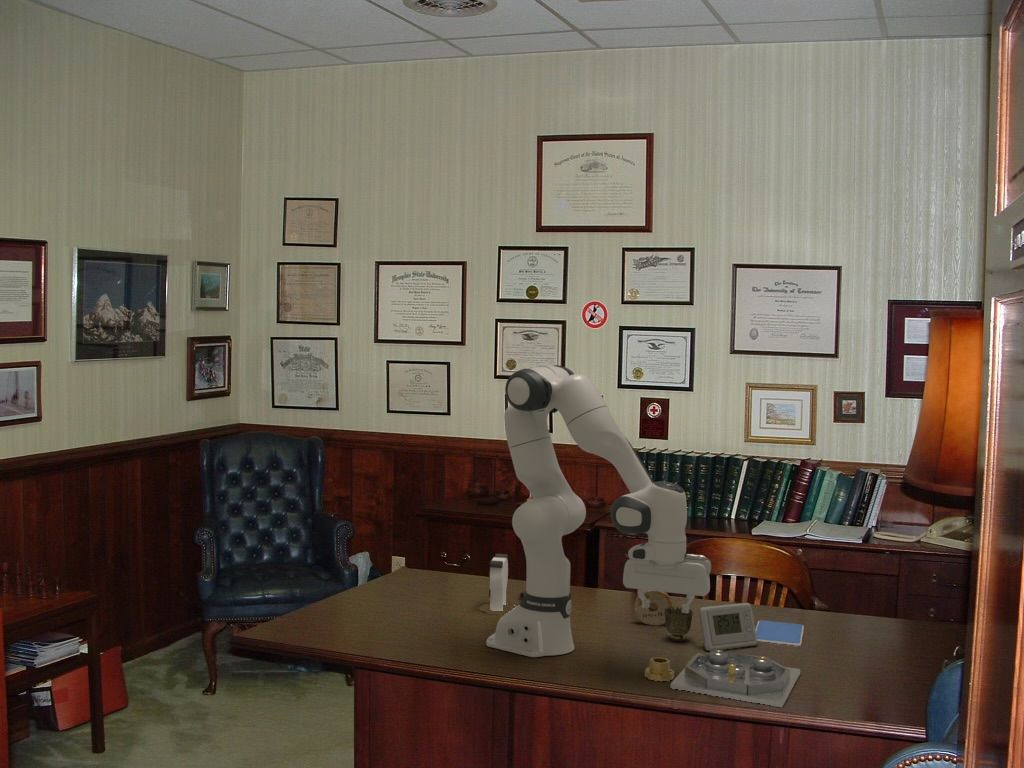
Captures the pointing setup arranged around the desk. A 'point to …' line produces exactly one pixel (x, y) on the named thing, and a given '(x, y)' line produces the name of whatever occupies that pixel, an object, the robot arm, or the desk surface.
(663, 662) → the flanged octagonal bushing
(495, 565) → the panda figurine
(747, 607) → the digital clock
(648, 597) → the stone disc
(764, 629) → the tablet computer
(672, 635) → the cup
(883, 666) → the desk surface
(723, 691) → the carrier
